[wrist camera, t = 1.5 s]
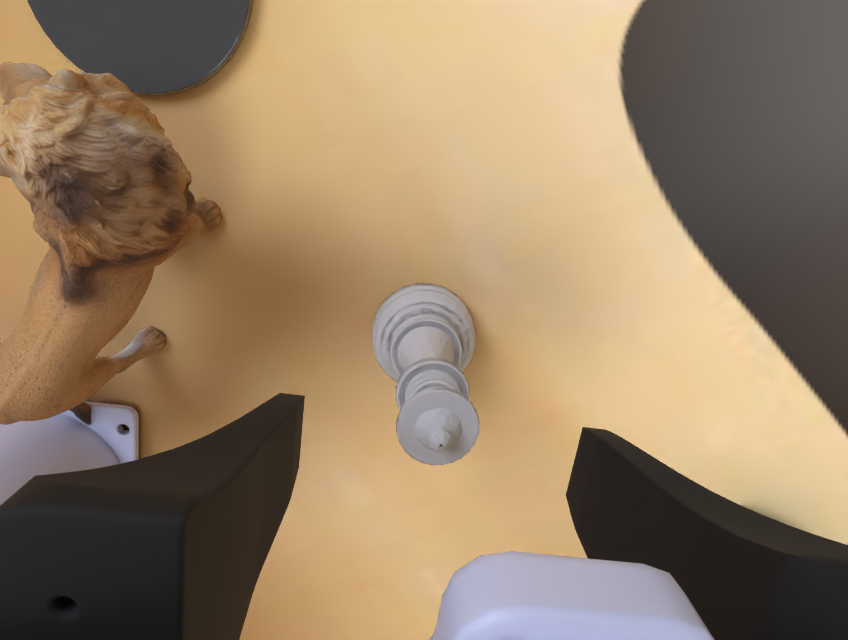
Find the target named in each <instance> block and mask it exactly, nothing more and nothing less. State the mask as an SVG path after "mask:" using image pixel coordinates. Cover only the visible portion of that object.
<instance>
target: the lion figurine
mask: <svg viewBox="0 0 848 640" xmlns="http://www.w3.org/2000/svg"><path fill="white" fill-rule="evenodd" d="M0 95H1V96H2V97H3V99H4V100H5V102H4V103H3V105H2V106H0V176H5V177H9V178H11V179H12V181H13V183H14V185H15V187H16V188H17V189H18V190H19V191H20V192H21V193H22V195H23V196H24V197H25V198H26V199H27V200H28V201H29V202H30V204H31V208H32V212H33V213H34V215H35V221H34V222H33V228H34V230H35V231H36V232H37V233H38V234H39V235H40V236H41V237H42V238H43V239H44V240H45V241H46V242H48V243H49V246H50V249H49V250H48V252H47V254H46V256H45V257H44V259H43V261H42V263H41V264H40V267H39V269H38V272H37V274H36V277H35V279H34V282H33V284H32V287H31V290H30V293H29V297H28V301H27V304H26V307H25V310H24V313H23V315H22V318H21V320H20V322H19V324H18V325H17V327H16V329H15V330H14V332H13V333H12V334H11V335H10V336H9V337H8V338H7V339H6V340H5V341H4V342H2V343H0V424H3V425H9V424H12V423H16V422H19V421H37V420H44V419H47V418H50V417H53V416H55V415H58V414H60V413H63V412H65V411H67V410H70V411H72V412H73V413H74V414H75V416H76V417H77V418H78V419H80V420H81V421H83V422H84V423H85V424H87V425H90V424H91V408H90V405H89V404H87V403H85V402H84V401H85V400H86V399H88V398H89V397H90V396H91V395H93V394H94V393H95V392H96V391H98V390H99V389H100V388H101V387H102V386H103V385H104V384H105V383H106V382H107V381H108V380H110V379H111V378H112V377H113V376H114V375H115V374H116V373H120V372H122V371H124V370H126V369H127V368H128V367H130V366H131V365H132V364H134V363H135V362H137V361H138V360H140V359H142V358H144V357H147V356H149V355H152V354H154V353H156V352H158V351H160V350H161V349H162V348H163V347H164V346H165V344H166V337H165V335H164V333H163V332H161V331H160V330H158V329H156V328H154V327H150V326H149V327H145V328H143V329H142V330H141V331H139V332H138V334H137V335H136V336H135V338H134V339H133V340H132V342H131V343H130V344H129V345H128V346H127V347H125V348H124V349H123V350H122V351H120V352H118V353H116V354H113V355H111V356H110V357H98V358H95V356H96V355H97V354H98V352H99V351H100V350H101V349H102V347H104V346H105V345H106V344H107V343H108V342H109V341H110V340H111V339H113V338H114V337H115V336H116V335H117V334H118V333H119V332H120V331H121V330H122V328H123V327H124V326H125V325H126V324H127V323H128V321H129V320H130V318H131V317H132V315H133V314H134V312H135V311H136V309H137V307H138V306H139V304H140V302H141V300H142V298H143V296H144V295H145V293H146V290H147V288H148V286H149V283H150V281H151V279H152V276H153V271H154V267H155V266H157V265H159V264H161V263H162V262H164V261H165V260H167V259H168V258H169V257H171V256H172V255H173V254H174V253H175V252H176V251H177V250H179V249H180V248H181V247H183V246H184V245H186V244H187V243H189V242H190V241H191V240H192V239H193V238H195V237H196V236H197V235H199V234H202V233H204V232H206V231H209V230H211V229H213V228H215V227H217V226H218V225H219V224H220V222H221V220H222V217H221V211H220V208H219V207H218V206H217V205H216V203H215V202H213V201H210V200H207V199H204V198H201V199H199V200H198V201H197V202H195V199H194V196H193V195H192V193H191V192H190V191H189V190H188V187H189V185H190V184H191V173H190V172H189V170H188V169H187V168H186V166H185V165H184V163H183V162H182V159H181V158H180V156H179V154H178V153H177V152H176V151H175V150H174V149H173V147H172V144H171V142H170V140H169V139H168V137H167V136H166V135H164V129H163V128H162V127H161V126H160V125H159V123H158V120H157V117H156V115H154V114H152V113H150V109H149V108H148V107H147V106H145V105H144V104H143V103H141V102H140V101H139V100H138V99H136V97H135V96H134V94H133V93H132V92H131V90H130V89H129V87H128V86H127V85H126V84H125V83H123V82H121V81H120V80H118V79H117V78H116V77H114V76H113V75H112V74H110V73H104V74H93V73H84V72H80V73H75V72H73V71H71V70H68V69H61V70H57V71H56V72H55V73H54V75H53V76H52V75H51V74H50V73H49V72H47V71H46V70H45V69H44V68H42V67H40V66H38V65H34V64H29V63H19V64H16V63H11V62H4V63H2V64H0Z"/></svg>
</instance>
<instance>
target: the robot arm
mask: <svg viewBox="0 0 848 640" xmlns="http://www.w3.org/2000/svg"><path fill="white" fill-rule="evenodd" d="M304 398H305V396H301V395H292V394H283V393H280V394H278V395H276V396H274V397H273V398H271V399H270V400H268V401H266V402H265V403H263V404H262V405H260V406H259V407H257V408H255V409H254V410H252V411H251V412H249V413H247V414H246V415H244V416H242V417H241V418H239V419H237V420H235V421H234V422H232V423H230V424H228V425H226V426H224V427H222V428H220V429H218V430H217V431H215V432H213V433H211V434H209V435H207V436H204V437H202V438H200V439H198V440H195V441H193V442H190V443H188V444H185V445H183V446H180V447H177V448H175V449H172V450H168V451H165V452H162V453H158V454H155V455H152V456H148V457H145V458H142V459H139V417H138V413H137V411H136V410H135V409H134V408H132V407H130V406H127V405H117V404H108V403H98V402H89V401H84V402H85V403H87V404H89V405H90V408H91V424H90V425H87V424H85V423H84V422H83V421H81V420H80V419H78V418H77V417H76V416H75V414H74V413H73V412H72V411H70V410H67V411H65V412H63V413H60V414H58V415H55V416H53V417H50V418H47V419H44V420H37V421H19V422H16V423H12V424H9V425H3V424H0V640H239V638H240V635H241V631H242V628H243V624H244V621H245V618H246V614H247V611H248V608H249V604H250V601H251V597H252V594H253V591H254V588H255V585H256V582H257V580H258V577H259V574H260V572H261V569H262V567H263V565H264V562H265V560H266V557H267V555H268V553H269V550H270V548H271V545H272V543H273V541H274V538H275V536H276V533H277V531H278V529H279V526H280V524H281V521H282V519H283V516H284V514H285V512H286V509H287V507H288V504H289V502H290V499H291V495H292V491H293V488H294V484H295V480H296V476H297V472H298V468H299V458H300V446H301V434H302V422H303V410H304ZM121 424H125V425H127V426H128V427H129V431H127V430H124V429H123V428H122V426H121ZM566 497H567V501H568V505H569V509H570V513H571V516H572V520H573V523H574V527H575V530H576V532H577V534H578V537H579V539H580V541H581V544H582V546H583V548H584V550H585V553H586V555H587V557H588V558H577V557H567V556H556V555H545V554H535V553H524V552H514V551H512V552H504V553H496V554H488V555H481V556H479V557H477V558H476V559H474V560H473V561H471V562H470V563H468V564H466V565H465V566H463V567H462V568H460V569H459V570H457V571H455V573H454V575H453V576H452V578H451V580H450V582H449V584H448V586H447V588H446V590H445V592H444V593H443V595H442V600H441V605H440V611H439V616H438V621H437V625H436V628H435V631H434V634H433V636H432V637H431V638H430V640H848V545H845V544H842V543H839V542H836V541H833V540H829V539H826V538H823V537H820V536H817V535H814V534H811V533H808V532H805V531H802V530H800V529H797V528H794V527H791V526H789V525H786V524H784V523H781V522H779V521H776V520H773V519H771V518H768V517H766V516H763V515H761V514H759V513H756V512H754V511H752V510H749V509H747V508H745V507H743V506H741V505H739V504H736V503H734V502H732V501H730V500H728V499H726V498H724V497H722V496H720V495H718V494H716V493H714V492H712V491H710V490H708V489H706V488H704V487H703V486H701V485H699V484H697V483H696V482H694V481H692V480H690V479H688V478H687V477H685V476H683V475H681V474H680V473H678V472H676V471H675V470H673V469H671V468H670V467H668V466H667V465H665V464H663V463H662V462H660V461H659V460H657V459H655V458H654V457H652V456H651V455H649V454H647V453H646V452H644V451H643V450H641V449H639V448H638V447H636V446H635V445H633V444H631V443H630V442H628V441H626V440H625V439H623V438H621V437H620V436H618V435H616V434H614V433H612V432H610V431H607V430H604V429H595V428H586V427H583V428H582V432H581V436H580V440H579V445H578V449H577V453H576V457H575V461H574V465H573V469H572V473H571V477H570V481H569V485H568V489H567V493H566Z"/></svg>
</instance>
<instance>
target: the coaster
mask: <svg viewBox="0 0 848 640" xmlns="http://www.w3.org/2000/svg"><path fill="white" fill-rule="evenodd" d="M28 3H29V5H30V7H31V9H32V11H33V13H34V15H35V17H36V19H37V21H38V22H39V24H40V25H41V27H42V29H43V30H44V32H45V33H46V35H47V36H48V37H49V38H50V40H51V41H52V42H53V44H54V45H55V46H56V47H57V48H58V49H59V50H60V51H61V52H62V53H63V54H64V55H65V56H66V57H67V58H68V59H69V60H70V61H71V62H72V63H74V64H75V65H76V66H77V67H78V68H80V69H81V70H83V71H84V72H86V73H93V74H104V73H110V74H112V75H113V76H114V77H116V78H117V79H118V80H120V81H121V82H123V83H125V84H126V85H127V86H128V87H129V89H130V90H131V92H134V93H138V94H147V95H165V94H172V93H177V92H182V91H185V90H188V89H191V88H193V87H196V86H197V85H199V84H201V83H203V82H205V81H207V80H208V79H209V78H211V77H212V76H213V75H215V74H216V73H217V72H218V71H219V70H220V69H221V68H222V67H223V66H224V65H225V64H226V63H227V62H228V61H229V60H230V58H231V57H232V55H233V54H234V53H235V51H236V50H237V48H238V46H239V44H240V42H241V40H242V38H243V36H244V33H245V30H246V28H247V25H248V21H249V17H250V13H251V6H252V0H28Z"/></svg>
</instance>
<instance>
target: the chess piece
mask: <svg viewBox="0 0 848 640" xmlns="http://www.w3.org/2000/svg"><path fill="white" fill-rule="evenodd" d="M475 338H476V335H475V331H474V326H473V322H472V317H471V315H470V313H469V311H468V310H467V308H466V306H465V304H464V303H463V302H462V301H461V300H460V298H459V297H458V296H457V295H456V294H454V293H453V292H451V291H449V290H448V289H446V288H444V287H442V286H438V285H435V284H431V283H416V284H412V285H408V286H404V287H402V288H401V289H399V290H397V291H395V292H393V293H392V294H391V295H390V296H389V297H388V298H387V299H386V300H385V301H384V302H383V303H382V305H381V306H380V308H379V310H378V311H377V313H376V316H375V319H374V323H373V328H372V342H373V350H374V353H375V357H376V360H377V362H378V363H379V365H380V367H381V368H382V370H383V371H384V372H385V373H386V374H387V375H388V376H389V377H390V378H391V379H393V380H394V381H396V382H398V383H397V386H396V400H397V404H398V408H399V409H400V411H399V414H398V418H397V424H396V431H397V436H398V439H399V442H400V444H401V446H402V447H403V449H404V450H405V452H406V453H408V454H409V455H410V456H411V457H412V458H413V459H415V460H417V461H419V462H421V463H425V464H429V465H444V464H449V463H453V462H455V461H457V460H459V459H461V458H462V457H463V456H464V455H466V454H467V453H468V452H469V451H470V450H471V448H472V447H473V445H474V444H475V442H476V439H477V437H478V434H479V419H478V414H477V411H476V409H475V407H474V406H473V404H472V402H471V401H470V400H469V387H468V382H467V379H466V377H465V375H464V374H463V371H464V370H465V368H466V367H467V365H468V364H469V362H470V361H471V358H472V355H473V352H474V350H475Z"/></svg>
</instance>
